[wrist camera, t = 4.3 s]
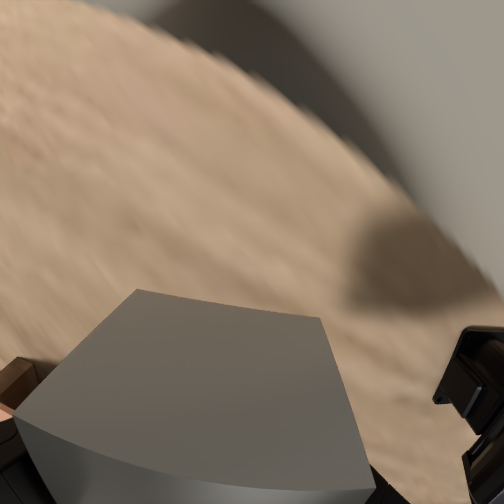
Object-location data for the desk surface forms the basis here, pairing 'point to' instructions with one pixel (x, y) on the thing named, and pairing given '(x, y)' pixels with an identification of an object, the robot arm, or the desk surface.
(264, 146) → the desk surface
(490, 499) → the robot arm
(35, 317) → the desk surface
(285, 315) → the gray cube
